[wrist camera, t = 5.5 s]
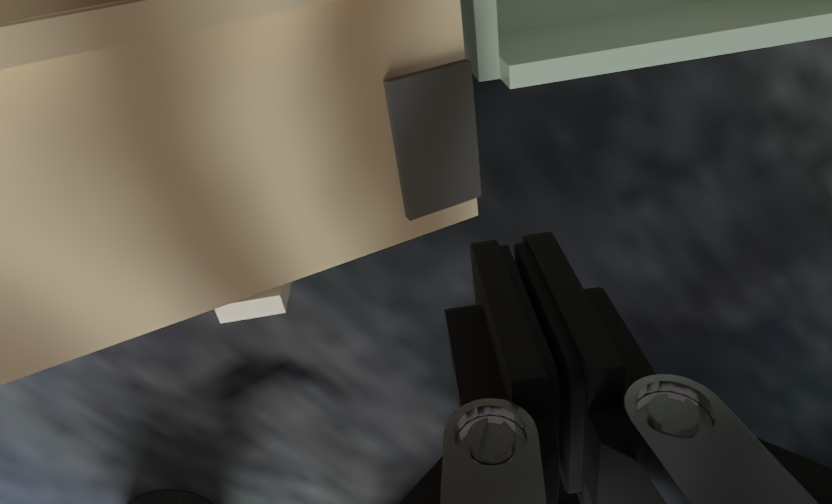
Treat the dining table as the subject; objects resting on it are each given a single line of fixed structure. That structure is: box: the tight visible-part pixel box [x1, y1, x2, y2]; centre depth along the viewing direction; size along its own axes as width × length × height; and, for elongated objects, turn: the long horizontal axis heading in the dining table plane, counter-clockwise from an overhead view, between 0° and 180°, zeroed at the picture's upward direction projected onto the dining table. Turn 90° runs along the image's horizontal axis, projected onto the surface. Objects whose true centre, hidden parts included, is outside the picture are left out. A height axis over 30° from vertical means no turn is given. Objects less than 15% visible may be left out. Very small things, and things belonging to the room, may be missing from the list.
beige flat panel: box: [0, 0, 482, 385], centre depth 14 cm, size 18×16×3 cm
